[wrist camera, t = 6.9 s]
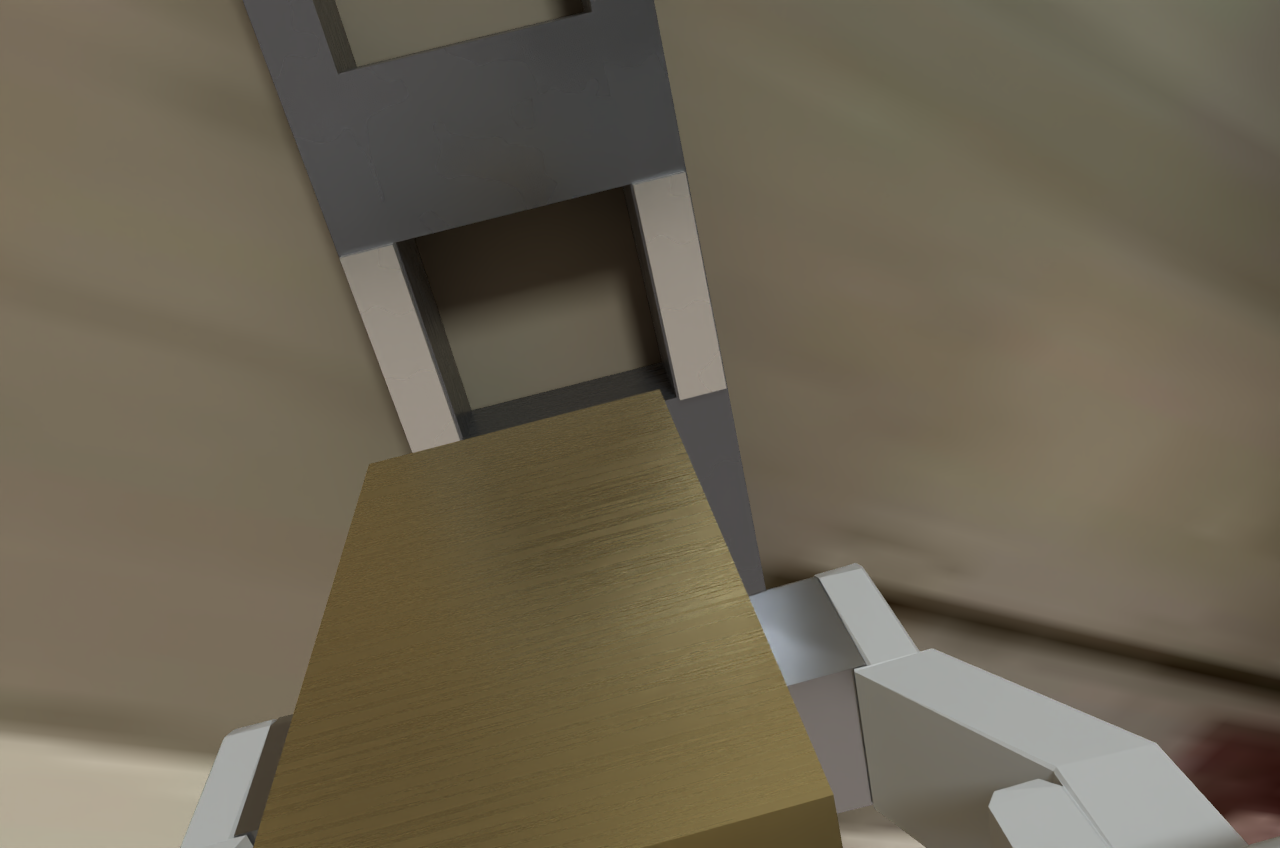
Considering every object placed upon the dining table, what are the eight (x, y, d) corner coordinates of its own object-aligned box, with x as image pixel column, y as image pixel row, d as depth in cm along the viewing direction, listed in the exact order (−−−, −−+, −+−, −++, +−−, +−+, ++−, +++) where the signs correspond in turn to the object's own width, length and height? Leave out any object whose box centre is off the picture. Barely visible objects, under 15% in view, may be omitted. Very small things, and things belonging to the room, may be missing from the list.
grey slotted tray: (553, -429, 17) (560, -499, 15) (768, 661, 30) (791, 719, 27) (151, -335, 17) (92, -392, 15) (534, 723, 29) (536, 787, 27)
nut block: (659, 389, 12) (834, 795, 6) (712, 621, 14) (892, 1133, 7) (368, 463, 12) (217, 964, 6) (459, 689, 14) (421, 1269, 7)
